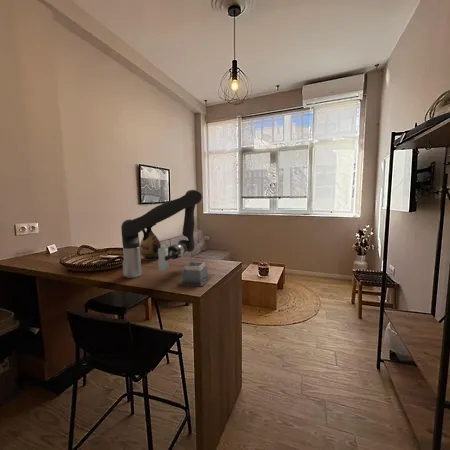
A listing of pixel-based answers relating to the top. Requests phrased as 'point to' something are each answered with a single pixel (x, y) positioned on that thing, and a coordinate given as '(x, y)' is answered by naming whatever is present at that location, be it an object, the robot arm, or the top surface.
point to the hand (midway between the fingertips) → (160, 258)
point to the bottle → (163, 258)
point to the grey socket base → (195, 274)
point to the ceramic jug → (149, 244)
